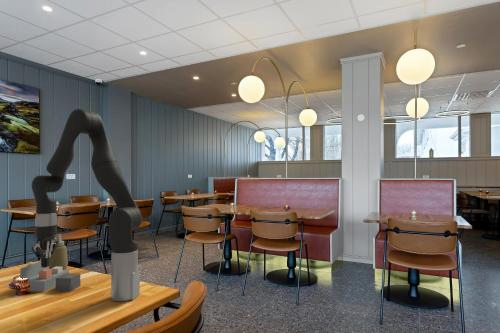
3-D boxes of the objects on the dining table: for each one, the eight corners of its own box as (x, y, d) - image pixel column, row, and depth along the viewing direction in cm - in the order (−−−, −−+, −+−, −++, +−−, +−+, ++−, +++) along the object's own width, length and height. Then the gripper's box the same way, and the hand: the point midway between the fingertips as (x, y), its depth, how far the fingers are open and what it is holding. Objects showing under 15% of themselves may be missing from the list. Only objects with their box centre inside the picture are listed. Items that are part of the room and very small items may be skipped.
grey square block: (80, 285, 129) (81, 273, 129) (70, 291, 123) (71, 278, 123) (65, 285, 129) (65, 273, 130) (54, 291, 123) (54, 278, 123)
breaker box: (68, 279, 137) (69, 255, 138) (44, 291, 122) (44, 265, 123) (46, 278, 138) (46, 255, 138) (19, 291, 123) (19, 265, 123)
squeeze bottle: (61, 275, 143) (61, 235, 143) (43, 275, 143) (44, 235, 144) (71, 270, 151) (72, 232, 151) (55, 270, 151) (55, 232, 152)
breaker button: (51, 278, 129) (51, 269, 129) (46, 281, 125) (46, 271, 126) (44, 278, 129) (44, 268, 129) (38, 281, 126) (38, 271, 126)
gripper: (43, 226, 121) (42, 272, 120) (65, 221, 134) (64, 262, 134) (24, 226, 121) (23, 271, 121) (48, 221, 135) (47, 262, 134)
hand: (45, 266), depth 127 cm, fingers closed
